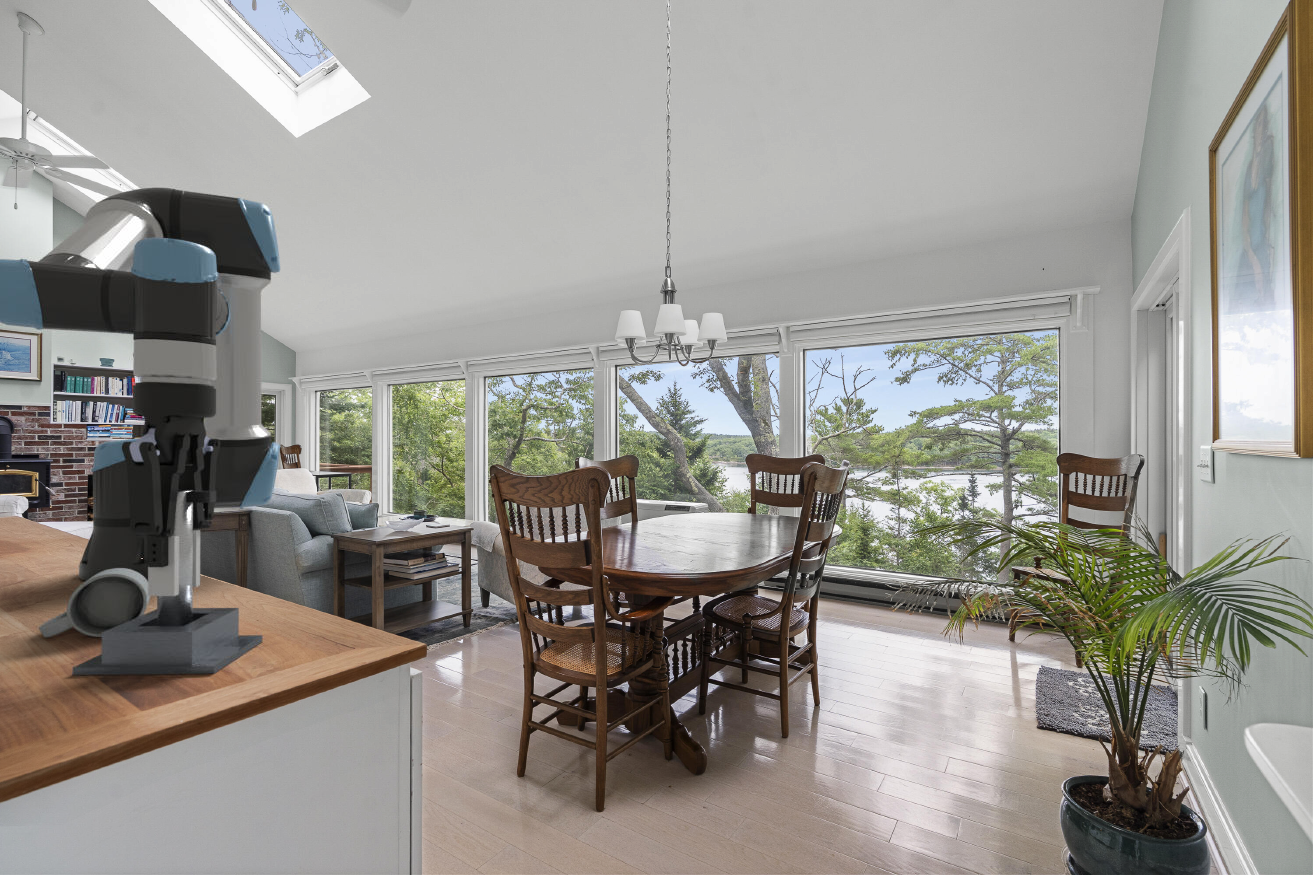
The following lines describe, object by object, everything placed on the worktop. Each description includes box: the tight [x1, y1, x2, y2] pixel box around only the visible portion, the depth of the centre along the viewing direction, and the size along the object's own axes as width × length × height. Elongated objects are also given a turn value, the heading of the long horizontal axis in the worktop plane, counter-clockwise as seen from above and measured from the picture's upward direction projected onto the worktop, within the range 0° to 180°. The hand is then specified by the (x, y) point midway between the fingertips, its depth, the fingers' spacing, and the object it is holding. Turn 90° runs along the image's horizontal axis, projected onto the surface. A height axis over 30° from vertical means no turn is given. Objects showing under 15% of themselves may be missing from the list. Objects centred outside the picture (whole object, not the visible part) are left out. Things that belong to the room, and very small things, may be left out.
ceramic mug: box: [38, 568, 151, 638], centre depth 82 cm, size 11×8×8 cm
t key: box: [156, 490, 216, 626], centre depth 73 cm, size 8×3×15 cm, turn 95°
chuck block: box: [71, 607, 263, 676], centre depth 74 cm, size 10×14×4 cm
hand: (174, 590), depth 73 cm, fingers closed on t key, 3 cm apart
